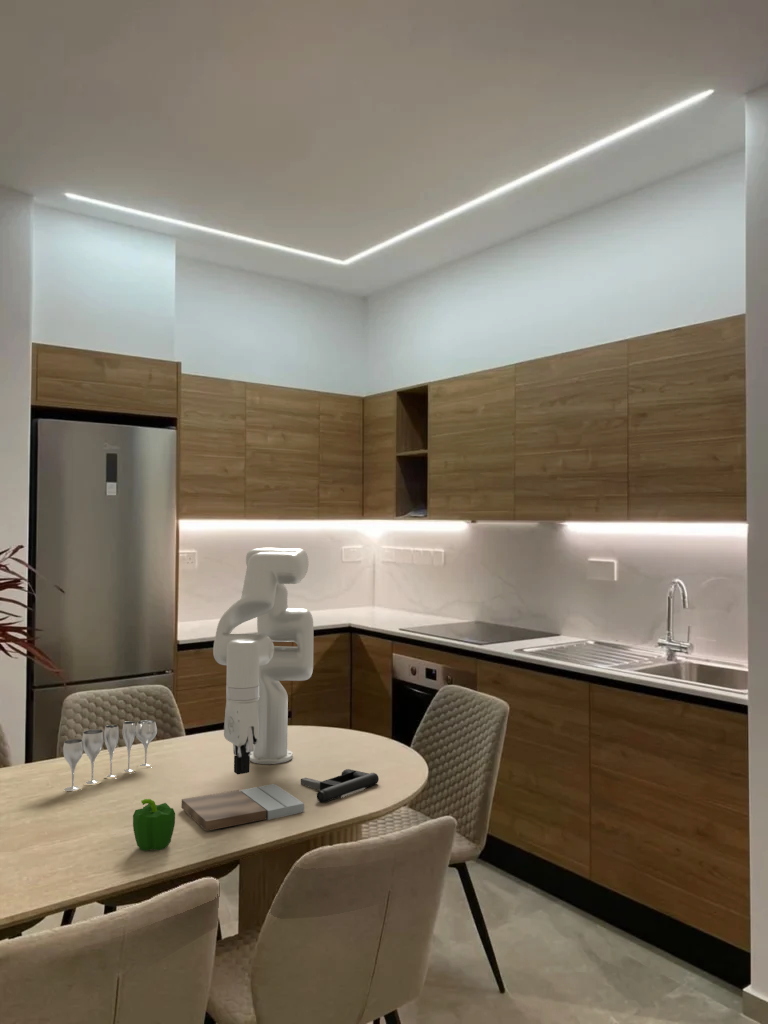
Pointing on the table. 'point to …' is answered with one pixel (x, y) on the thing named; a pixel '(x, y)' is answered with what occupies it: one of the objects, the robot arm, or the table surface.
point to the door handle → (341, 784)
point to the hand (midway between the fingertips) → (241, 772)
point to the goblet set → (107, 744)
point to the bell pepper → (153, 825)
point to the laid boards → (274, 801)
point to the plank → (223, 809)
